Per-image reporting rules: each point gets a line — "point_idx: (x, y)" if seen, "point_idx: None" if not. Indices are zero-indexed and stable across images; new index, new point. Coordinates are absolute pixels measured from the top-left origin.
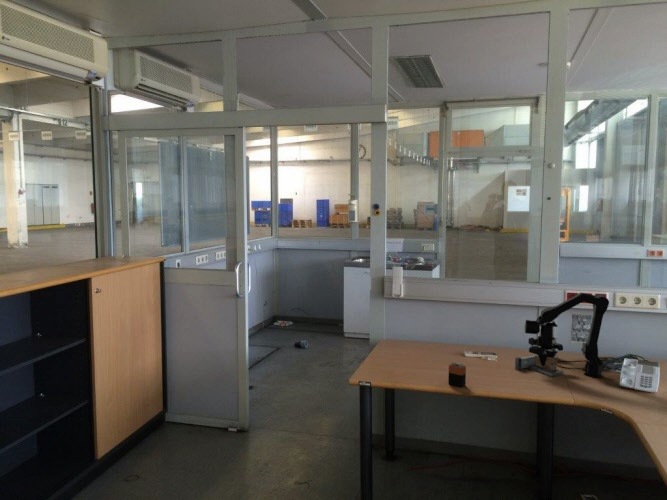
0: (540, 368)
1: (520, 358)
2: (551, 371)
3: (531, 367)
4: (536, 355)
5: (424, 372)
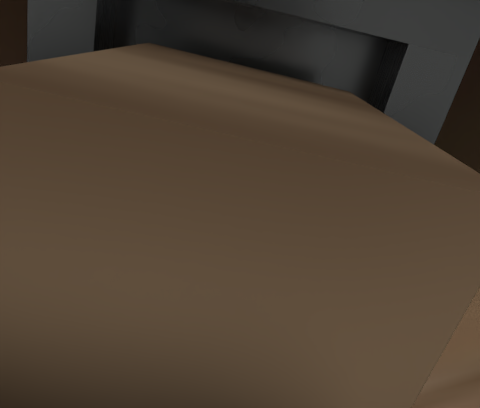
0: None
1: None
2: None
3: (40, 9)
4: (71, 153)
5: None
